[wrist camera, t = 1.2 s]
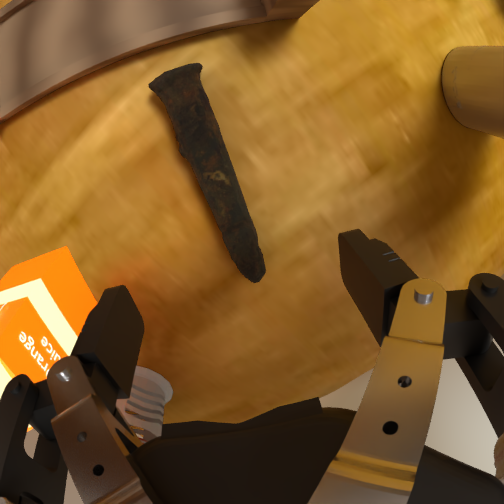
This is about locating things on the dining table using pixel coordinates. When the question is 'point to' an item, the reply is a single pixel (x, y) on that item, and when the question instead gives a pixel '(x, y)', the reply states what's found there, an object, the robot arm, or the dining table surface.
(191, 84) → the hand tool
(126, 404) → the french press
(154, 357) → the dining table surface
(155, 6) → the cradle
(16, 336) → the orange juice
